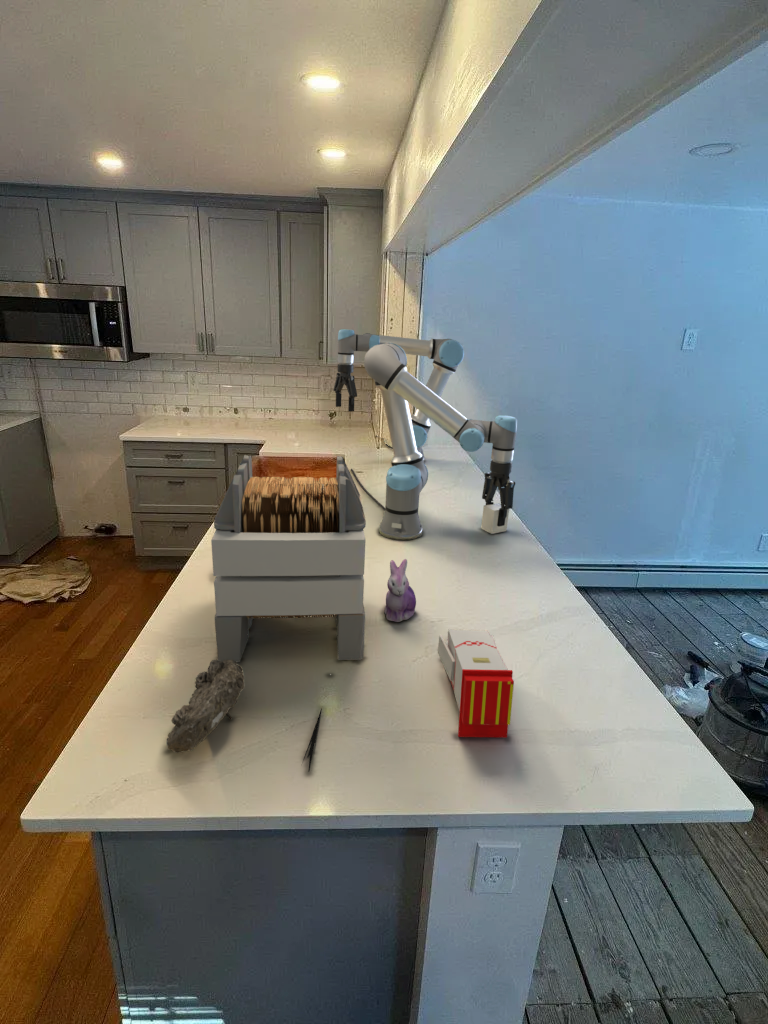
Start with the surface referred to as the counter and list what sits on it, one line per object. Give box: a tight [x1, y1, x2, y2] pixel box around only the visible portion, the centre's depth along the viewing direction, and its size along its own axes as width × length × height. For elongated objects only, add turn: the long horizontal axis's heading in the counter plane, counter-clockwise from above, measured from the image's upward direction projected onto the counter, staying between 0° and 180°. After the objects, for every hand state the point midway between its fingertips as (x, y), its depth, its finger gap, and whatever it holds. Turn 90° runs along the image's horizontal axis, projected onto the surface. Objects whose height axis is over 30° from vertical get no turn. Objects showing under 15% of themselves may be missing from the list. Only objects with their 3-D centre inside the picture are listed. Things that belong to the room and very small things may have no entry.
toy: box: [437, 628, 515, 738], centre depth 117 cm, size 12×13×30 cm
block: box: [480, 502, 510, 535], centre depth 206 cm, size 7×6×9 cm
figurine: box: [384, 558, 417, 623], centre depth 145 cm, size 9×10×15 cm
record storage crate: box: [210, 454, 366, 663], centre depth 134 cm, size 34×33×41 cm
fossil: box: [166, 659, 245, 754], centre depth 106 cm, size 22×10×15 cm
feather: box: [301, 673, 332, 771], centre depth 108 cm, size 2×28×2 cm
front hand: (494, 522), depth 206 cm, fingers open, 6 cm apart
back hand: (344, 409), depth 274 cm, fingers open, 13 cm apart
